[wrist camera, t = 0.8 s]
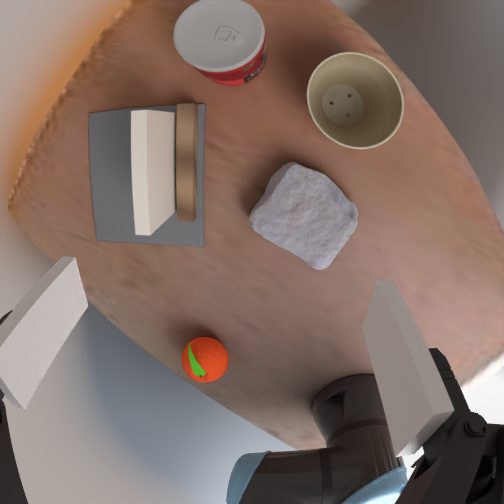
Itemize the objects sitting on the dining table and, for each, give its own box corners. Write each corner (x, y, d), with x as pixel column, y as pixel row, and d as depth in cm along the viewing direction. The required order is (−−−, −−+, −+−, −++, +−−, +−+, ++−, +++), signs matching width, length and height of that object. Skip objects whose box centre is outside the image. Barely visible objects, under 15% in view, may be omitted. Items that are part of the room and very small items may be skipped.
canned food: (261, 91, 33) (256, 76, 23) (194, 83, 33) (164, 67, 22) (272, 33, 30) (271, -1, 20) (205, 26, 30) (181, -7, 20)
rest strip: (197, 217, 39) (193, 221, 37) (181, 216, 39) (177, 221, 37) (198, 104, 33) (194, 103, 31) (181, 104, 33) (177, 103, 32)
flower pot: (392, 88, 31) (416, 82, 25) (362, 158, 35) (382, 166, 28) (318, 51, 30) (328, 35, 24) (287, 124, 34) (290, 122, 27)
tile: (178, 208, 38) (150, 235, 29) (165, 208, 39) (134, 234, 29) (178, 113, 34) (146, 109, 25) (164, 113, 34) (129, 111, 25)
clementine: (176, 328, 46) (163, 358, 40) (216, 316, 45) (207, 347, 38) (199, 364, 49) (191, 396, 42) (238, 356, 47) (233, 388, 41)
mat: (204, 246, 41) (203, 247, 40) (97, 240, 41) (97, 240, 41) (205, 104, 34) (204, 104, 33) (90, 113, 34) (89, 113, 34)
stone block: (283, 153, 37) (242, 222, 39) (291, 150, 33) (244, 228, 34) (358, 203, 40) (318, 267, 41) (374, 207, 35) (330, 278, 37)
